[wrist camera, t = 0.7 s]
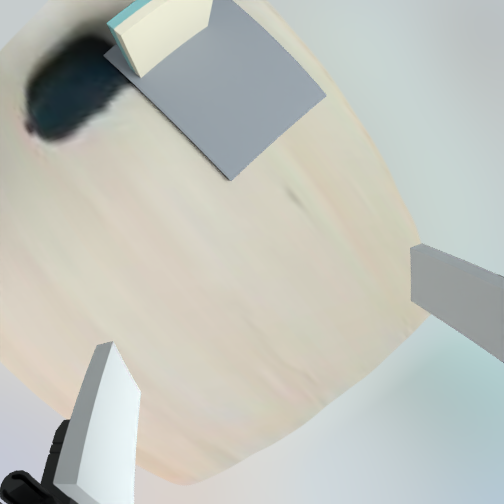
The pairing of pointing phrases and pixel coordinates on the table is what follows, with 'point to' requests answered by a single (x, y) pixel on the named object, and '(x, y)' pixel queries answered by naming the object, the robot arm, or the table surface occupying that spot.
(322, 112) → the table surface
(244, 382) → the table surface
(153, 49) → the board
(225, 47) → the mat
